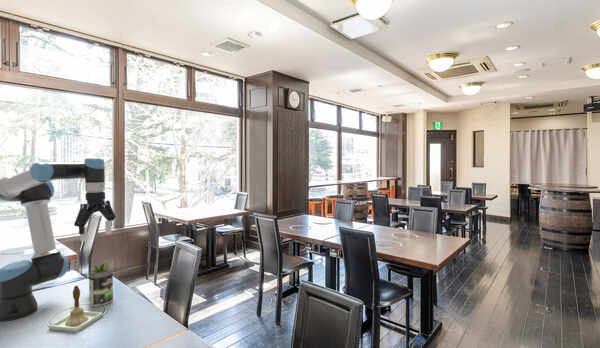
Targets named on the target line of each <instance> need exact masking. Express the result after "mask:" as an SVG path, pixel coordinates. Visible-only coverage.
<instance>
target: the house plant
mask: <svg viewBox="0 0 600 348" xmlns="http://www.w3.org/2000/svg"><path fill="white" fill-rule="evenodd" d="M89 264H90V265H91V266H92V267H93V268H90V267H88V270H90V273H84V275H85V276H88V277H87V280H89V275H91V274H93V273H97V272H102V271H108V269H109V268H110V267H111V266H110V265H109V264H110V263H108V262H106V260H104V261H103V262H100V264H99V267H97V266H98V265H95V264H93V263H89ZM110 271H111V272H113V270H110Z"/></svg>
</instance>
